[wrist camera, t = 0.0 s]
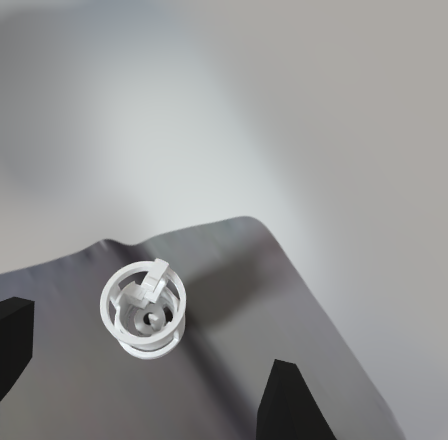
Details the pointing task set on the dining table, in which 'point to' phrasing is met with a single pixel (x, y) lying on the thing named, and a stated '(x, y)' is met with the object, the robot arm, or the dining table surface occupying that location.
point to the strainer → (145, 309)
